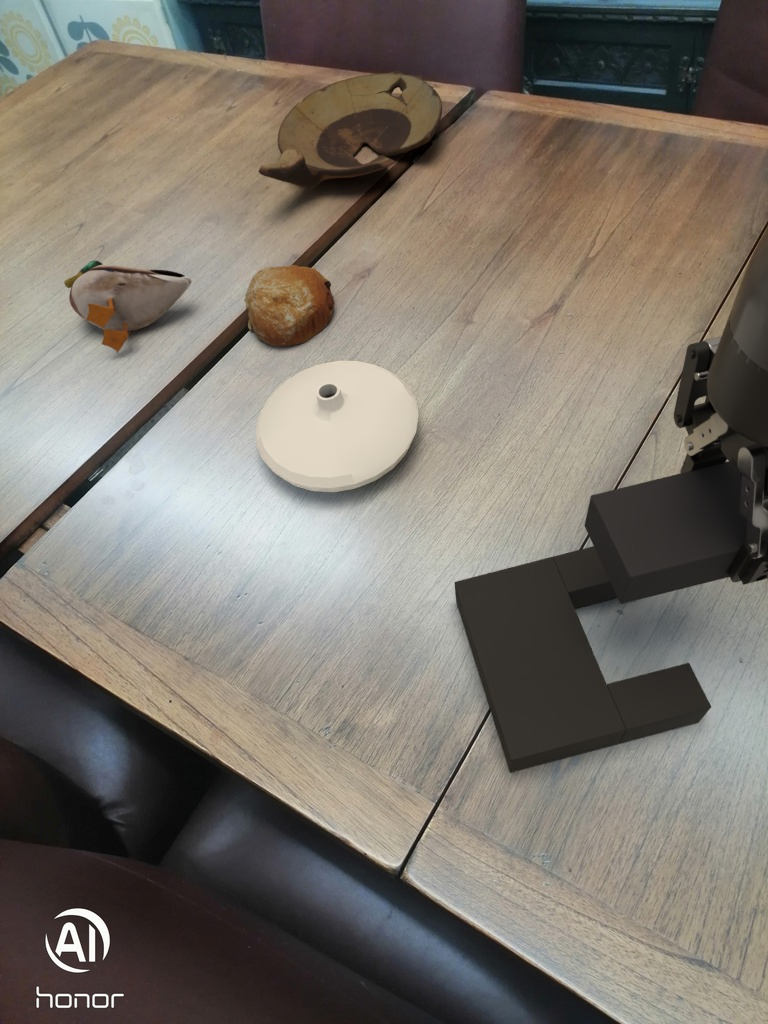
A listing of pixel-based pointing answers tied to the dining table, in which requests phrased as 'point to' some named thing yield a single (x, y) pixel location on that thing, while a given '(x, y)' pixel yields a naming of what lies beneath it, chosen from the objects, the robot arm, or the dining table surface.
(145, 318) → the decorative duck model
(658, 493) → the pad
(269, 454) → the pot lid
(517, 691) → the socket pad
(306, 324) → the bread roll
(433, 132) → the oil lamp
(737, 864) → the dining table surface
